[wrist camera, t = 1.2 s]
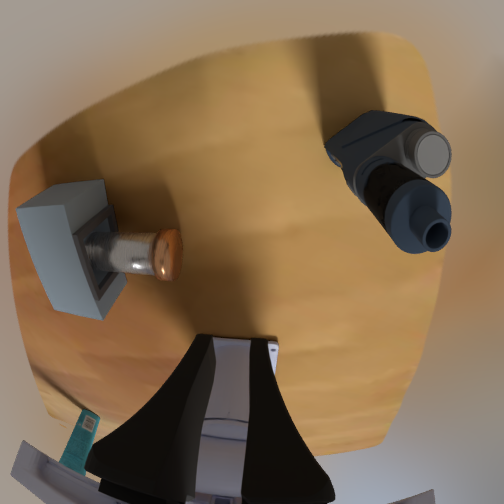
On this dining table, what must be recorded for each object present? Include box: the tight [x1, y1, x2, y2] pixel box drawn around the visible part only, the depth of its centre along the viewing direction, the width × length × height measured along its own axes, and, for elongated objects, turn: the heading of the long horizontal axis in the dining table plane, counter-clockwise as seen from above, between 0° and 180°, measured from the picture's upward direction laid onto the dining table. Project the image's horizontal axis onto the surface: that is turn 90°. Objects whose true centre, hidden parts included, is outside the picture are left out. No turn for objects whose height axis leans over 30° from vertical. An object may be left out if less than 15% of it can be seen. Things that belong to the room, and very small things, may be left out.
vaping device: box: [324, 110, 452, 254], centre depth 11 cm, size 3×5×12 cm, turn 133°
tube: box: [59, 409, 100, 476], centre depth 39 cm, size 7×5×19 cm, turn 80°
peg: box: [85, 229, 183, 281], centre depth 19 cm, size 7×4×4 cm, turn 89°
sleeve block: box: [16, 179, 127, 320], centre depth 19 cm, size 6×10×5 cm, turn 179°
